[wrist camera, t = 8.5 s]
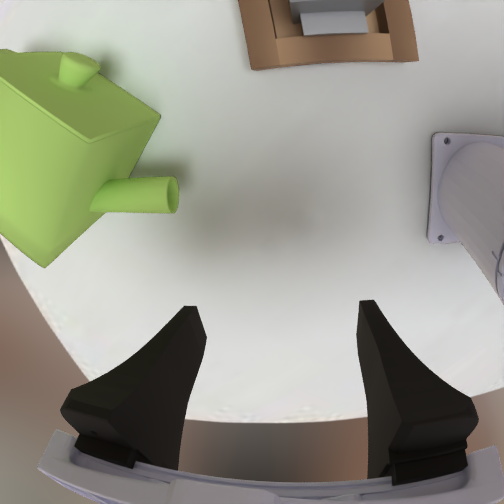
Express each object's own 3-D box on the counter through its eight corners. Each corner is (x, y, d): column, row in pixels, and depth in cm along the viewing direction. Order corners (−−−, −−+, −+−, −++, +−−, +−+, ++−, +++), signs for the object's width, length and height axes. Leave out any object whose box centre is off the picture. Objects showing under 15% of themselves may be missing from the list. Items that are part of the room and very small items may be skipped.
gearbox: (234, 135, 19) (196, 175, 11) (159, 238, 24) (104, 319, 16) (52, 21, 15) (-39, 19, 7) (8, 124, 19) (-72, 157, 11)
